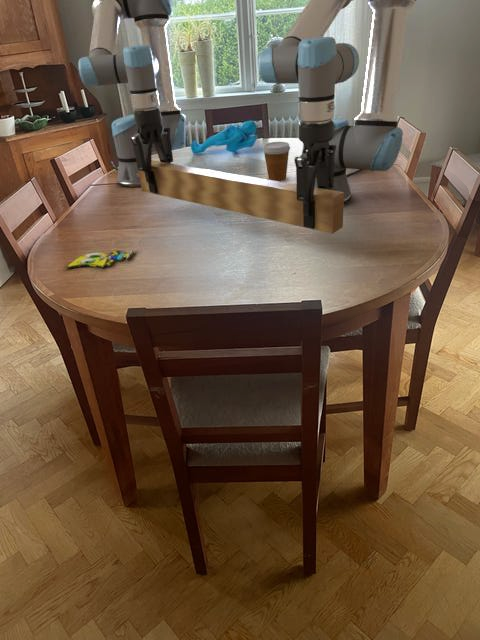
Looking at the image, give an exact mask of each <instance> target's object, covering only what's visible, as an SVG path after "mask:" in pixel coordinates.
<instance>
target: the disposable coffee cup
mask: <svg viewBox="0 0 480 640" xmlns="http://www.w3.org/2000/svg"><path fill="white" fill-rule="evenodd" d="M290 149H291V146H290V144H289V142H286V141H272V142H266V143H265V144H263V148H262V151H263V153H264V159H265V165H266V171H267V178H268V180H274V181H280V182H285V181H286V180H287V174H288V165H289V155H290V154H289V153H290Z"/></svg>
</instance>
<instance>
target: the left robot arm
mask: <svg viewBox="0 0 480 640" xmlns="http://www.w3.org/2000/svg"><path fill="white" fill-rule="evenodd" d="M91 12H92V13H91V14H92V16H93V21H92V23H93V24H92V29H91V38H90V44H89V45H90V46H89V54H88V55H87V56H84V57H83V56H82V57H80V58H79V59H78V73H79V76H80V79H81V81H82V83H83V84H84V85H85V86H87V87H100V86H109V85H111V86H112V85H119V84H121V85H122V84H128V86H129V87H128V88H129V94H130V100H131V107H132V109H133V110H134V111H133V114H129V115H125V116H122V117H119V118H116V119H115V120H113V121H112V122H111V132H112V138H113V142H114V146H115V151H116V156H117V160H118V167H117V166H115V165H114V163H113V160H112V161H111V160H110V161H109V165H110V166H111V167H112V169H114V170H116V171H117V183H118V186H120V187H123V188H124V187H125V188H136V187H137V188H138V187H141V183H140V178H139V172H138V170H139V171H144V173H145V177H146V182H147V183H148V185H149V190H150V192H151V193H150V194H153V193H157V187H156V181H155V175H154V171H151V160H152V153H154V152H156V153H157V157H158V159H159V162H165V163H171V164H172V163H173V162H174V155H173V151H174V150H181V149H183V148H184V147H185V146H186V140H187V139H186V138H187V137H186V136H187V134H186V133H187V124H186V123H187V122H186V115H185V114H183V113H182V112H181V108H179V107H178V105H177V104H176V97H175V91H174V81H173V74H172V68H171V67H172V66H171V60H170V59H171V58H170V52H169V51H170V50H169V44H168V35H167V29H166V28H167V26H168V24H169V23H170V16H171V15H173V14H174V13H173V7H172V1H171V0H92V3H91ZM126 19H133V21H134V25H135V26H136V27H137V28H138V29H139V30H140V31H139V32H140V38H141V44H140V45H132V46H131V45H130V46H125V47H124V48H123V50H122V53H117V44H118V35H119V25H120V24H121V22H122V20H126Z"/></svg>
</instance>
